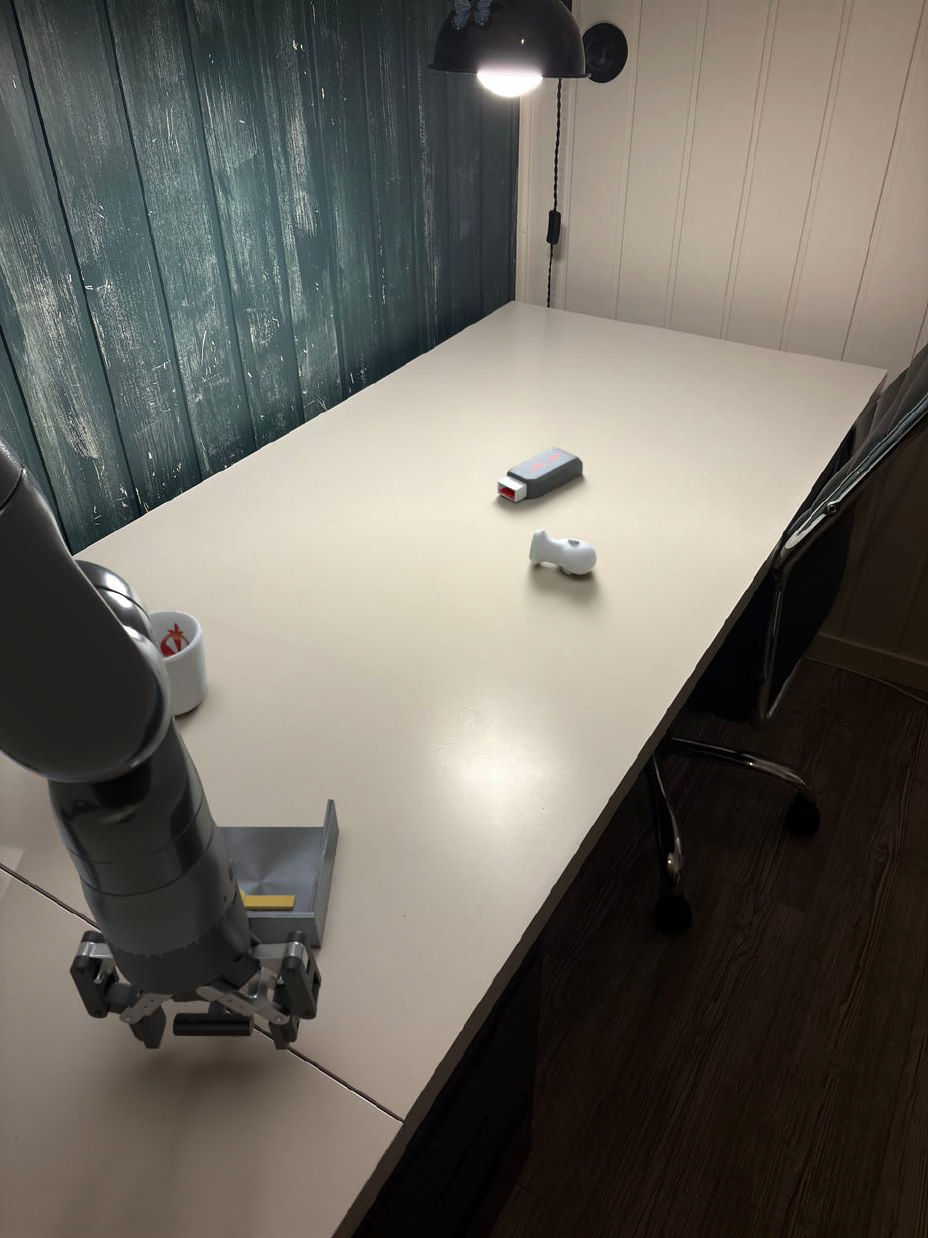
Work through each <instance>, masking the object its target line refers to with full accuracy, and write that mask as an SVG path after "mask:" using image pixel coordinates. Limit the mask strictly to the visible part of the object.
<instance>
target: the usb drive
mask: <svg viewBox="0 0 928 1238" xmlns="http://www.w3.org/2000/svg"><path fill="white" fill-rule="evenodd" d="M583 470H584V463H583V461H582V459H581V458H580V457H579V456H577V455H574V454H573V453H571V452H568V451H566V450H563V449H561V448H559V447H556V446H554V447H550V448H549V449H547V450H545V451H543V452H541V453H539V454H537V455H535V456H533V457H531V458H529V459H527V460H526V461H525V460H524V461H523V462H521V463H519V464H518V465H515V466H513V467H511V468H509V470H508V471H507V472H506V476H505V477H504V478H502V479H500V480H498V481H497V494H498V495H501V496H503V497H505V498H507V499H508V500H510V501H512V502H515V503H517V502H519V501H521V500H523V499H525V498H526V499H528V500H531V499H536V498H539V497H542V496H544V495H546V494H548V493H549V492H552V491H553V490H555V489H556V488H558V487H561V486H562V485H564V484H566V483H567V482H569V481H572V480H573V479H575V478H577V477H578V476H580V475H582V474H583Z"/></svg>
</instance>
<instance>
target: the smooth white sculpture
mask: <svg viewBox="0 0 928 1238" xmlns="http://www.w3.org/2000/svg"><path fill="white" fill-rule="evenodd" d="M528 559H529V560H530V561H531V562H532V563H533V565H534V566H537V565H538V564H540V563H543V562H544V563H545V562H546V563H550V564H554V565H557V566H560V567H562V571H563V572H564V573H565V574H567V575H572V574H574V575H575V574H576V575H586V574H588V573H590V572H591V571H592V570H593V569H594V567H595V565H596V563H597V552H596V550H595V548H594V547H593V546H592V545H591V544H590V543H588V542H587V541H583V540H580V539H577V538H571V537H570V538H561V539H554V538H552V537H550V536H549V535H548V534H547V532H546V530H545V528H544V529H540V530H535V531H534V533H533V536H532V539H531V543H530V547H529V555H528Z"/></svg>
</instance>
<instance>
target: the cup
mask: <svg viewBox="0 0 928 1238" xmlns="http://www.w3.org/2000/svg"><path fill="white" fill-rule="evenodd" d="M148 613H149V616H150V619H151V622H152V625H153V628H154V633H155V636H156V639H157V642H158V645H159V648H160V651H161V654H162V657H163V660H164V663H165V666H166V669H167V672H168V676H169V679H170V684H171V689H172V709H173V713H174V717H175V716H179V715H182V714H185V713H187V712H190V711H191V710H193V709H195V708H196V707H197V706H199V704H200V703H201V702H202V701H203V700H204V698H205V696H206V694H207V692H208V688H209V687H208V685H209V679H208V669H207V661H206V653H205V652H206V651H205V644H204V637H203V636H204V635H203V630H202V626H201V624H200V622H199V621H198V619H196V617H194V616H193V615H191V614H189V613H187V612H184V611H179V610H169V609H168V610H158V611H152V612H148Z"/></svg>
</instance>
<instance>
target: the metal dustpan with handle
mask: <svg viewBox="0 0 928 1238" xmlns="http://www.w3.org/2000/svg"><path fill="white" fill-rule="evenodd" d="M336 809H337V808H336V803H335V799H330V798H328V799H327V803H326V810H325V815H324V822H323V826H217V827H218V828H219V830H220V832H221V834H222V836H223V839H224V842H225V845H226V848H227V851H228V854H229V857H230V858H231V860H232V861H233V864H234V870H235V877H236V880H237V884H238V887H239V889H240V890H241V891H243V893H244V894H245V895H258V896H295V904H294V909H245V910H246V914H247V919H248V924H249V930H250V932H251V933H252V934H253V935H254V936H256V937H257V938H258V939H259V940H260V941H261V943H262V944H286V939H287V934H288V933H289V932H292V931H300V932H303V933H305V934H306V935H307V938H308V941H309V944H310V947H311V949H321V948H322V947H323V939H324V933H325V924H326V919H327V918H326V917H327V912H328V905H329V901H330V900H329V899H330V891H331V887H332V885H331V884H332V879H333V874H334V873H333V872H334V867H335V859H336V852H337V846H338V839H339V833H340V827H339V822H338V815H337V810H336ZM227 1008H228V1007H227V1006H225V1005H224V1004H222V1003H220V1002H209V1005H208V1009H207V1010H208V1011H207V1012H177V1013H176V1014H175V1016H174V1019H173V1021H172V1034H173V1036H175V1037H230V1038H231V1037H236V1038H237V1037H243V1038H244V1037H245V1038H247V1037H248V1038H250V1037H252V1035H253V1032H254V1027H255V1016H254V1014H252V1015H250V1016H244V1015H242V1014H240V1013H238V1012H227Z"/></svg>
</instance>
